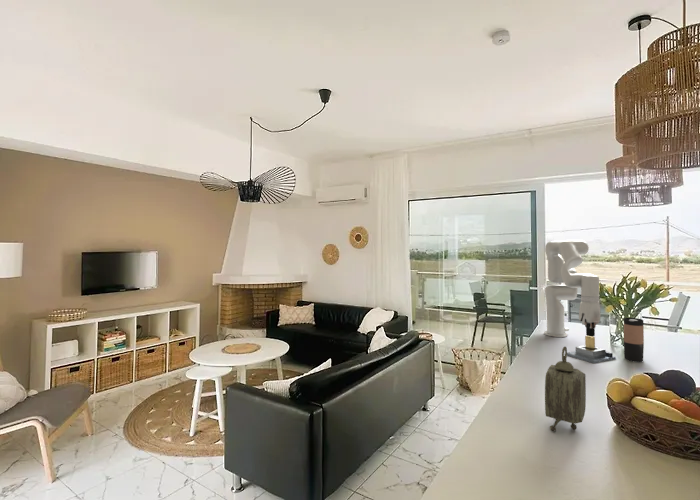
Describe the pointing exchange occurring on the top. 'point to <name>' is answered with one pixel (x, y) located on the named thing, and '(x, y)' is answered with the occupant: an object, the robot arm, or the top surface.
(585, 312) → the robot arm
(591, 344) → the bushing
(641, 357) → the travel mug
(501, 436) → the top surface
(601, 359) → the jig
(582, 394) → the rustic cowbell
